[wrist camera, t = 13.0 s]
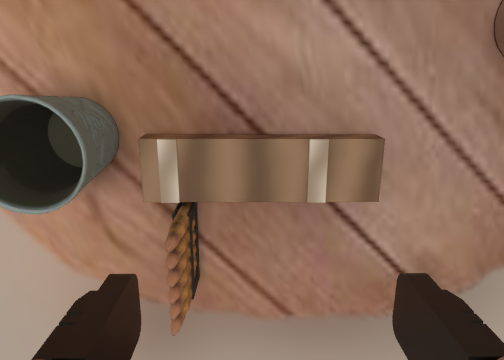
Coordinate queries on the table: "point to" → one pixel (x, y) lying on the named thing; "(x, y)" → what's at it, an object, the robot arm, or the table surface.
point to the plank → (261, 168)
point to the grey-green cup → (51, 149)
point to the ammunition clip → (182, 262)
